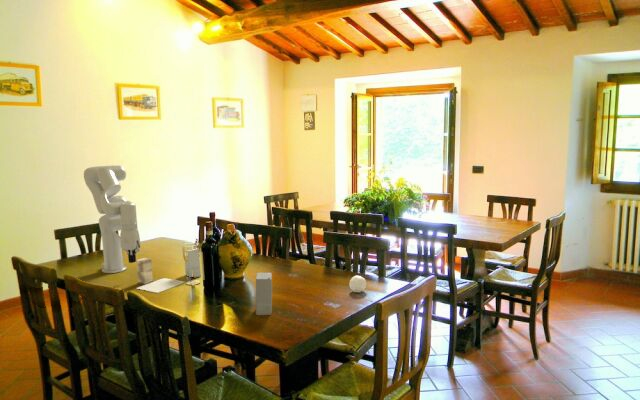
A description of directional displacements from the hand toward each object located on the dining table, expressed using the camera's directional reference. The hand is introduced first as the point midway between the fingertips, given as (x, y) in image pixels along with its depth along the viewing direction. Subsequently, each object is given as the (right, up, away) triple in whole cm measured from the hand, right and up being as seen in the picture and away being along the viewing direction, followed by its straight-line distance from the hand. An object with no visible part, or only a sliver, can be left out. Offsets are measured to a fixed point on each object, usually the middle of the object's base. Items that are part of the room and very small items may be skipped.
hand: (132, 262), depth 242 cm
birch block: (+8, -10, -3) cm, 13 cm away
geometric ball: (+114, -11, -23) cm, 117 cm away
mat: (+17, -11, -8) cm, 22 cm away
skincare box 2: (+73, -15, -45) cm, 87 cm away
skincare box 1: (+29, -8, +7) cm, 31 cm away
